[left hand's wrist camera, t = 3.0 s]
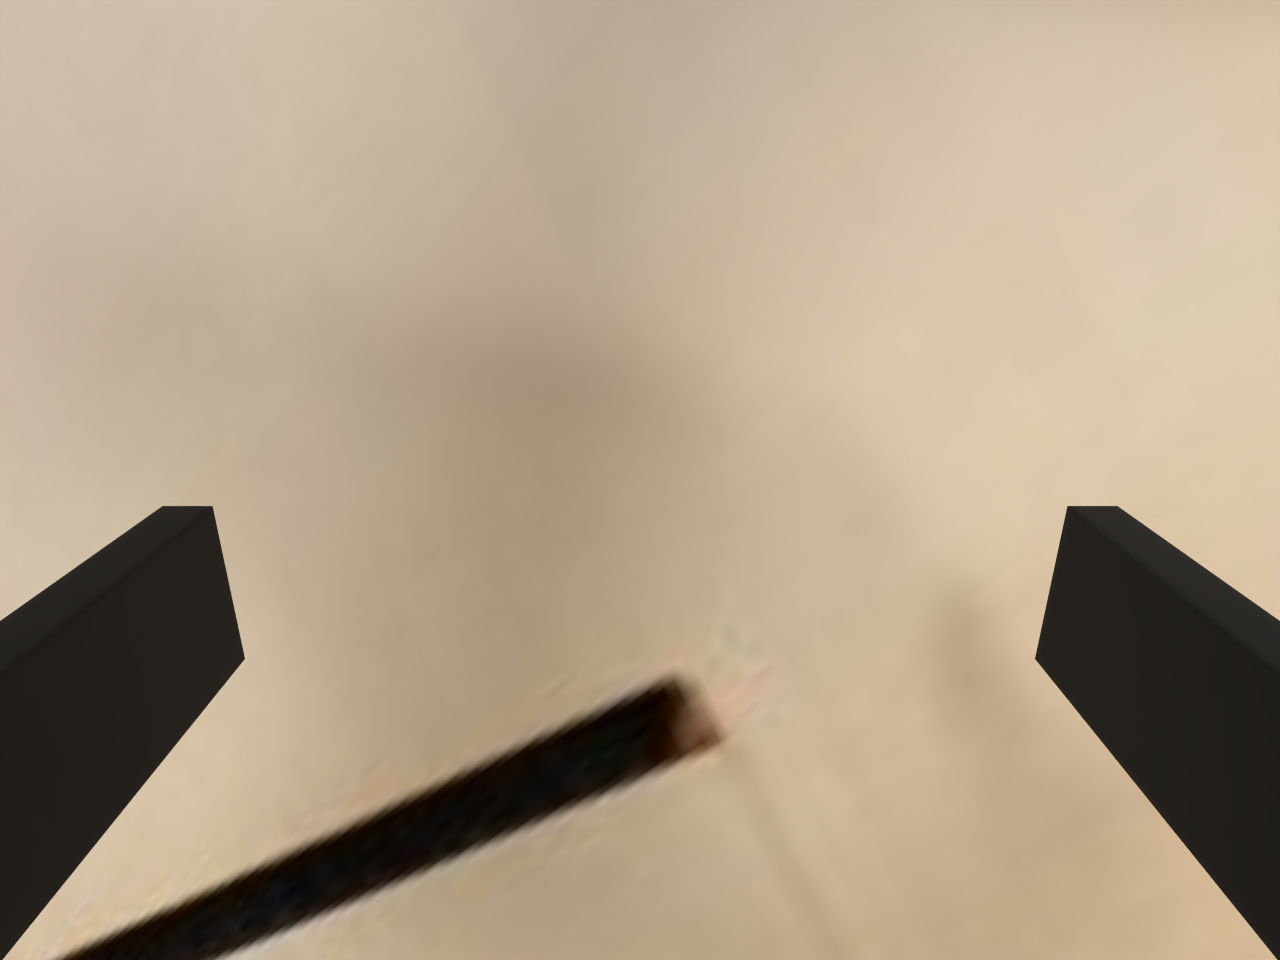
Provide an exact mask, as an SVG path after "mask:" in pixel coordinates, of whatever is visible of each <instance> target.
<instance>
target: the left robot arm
mask: <svg viewBox="0 0 1280 960" xmlns="http://www.w3.org/2000/svg"><path fill="white" fill-rule="evenodd" d="M244 659H245V657H244V652H243V648H242V643H241V638H240V633H239V629H238V624H237V619H236V615H235V610H234V605H233V601H232V596H231V591H230V586H229V582H228V577H227V572H226V568H225V563H224V558H223V553H222V549H221V544H220V539H219V535H218V530H217V525H216V521H215V516H214V511H213V506H162V507H161V508H159V509H158V510H156V511H155V512H154V513H152V514H151V515H149V516H148V517H147V518H145V519H144V520H142V521H141V522H140V523H138V524H137V525H135V526H134V527H132V528H131V529H130V530H128V531H127V532H125V533H124V534H123V535H121V536H120V537H118V538H117V539H115V540H114V541H113V542H111V543H110V544H108V545H107V546H106V547H104V548H103V549H101V550H100V551H99V552H97V553H96V554H94V555H93V556H91V557H90V558H89V559H87V560H86V561H84V562H83V563H82V564H80V565H79V566H77V567H76V568H75V569H73V570H72V571H70V572H69V573H67V574H66V575H65V576H63V577H62V578H60V579H59V580H58V581H56V582H55V583H53V584H52V585H50V586H49V587H48V588H46V589H45V590H43V591H42V592H41V593H39V594H38V595H36V596H35V597H34V598H32V599H31V600H29V601H28V602H26V603H25V604H24V605H22V606H21V607H19V608H18V609H17V610H15V611H14V612H12V613H11V614H10V615H8V616H7V617H5V618H4V619H2V620H1V621H0V960H3V958H4V957H5V956H6V955H7V953H8V952H9V951H10V950H11V949H12V947H13V946H14V945H15V944H16V942H17V941H18V940H19V939H20V937H21V936H22V935H23V934H24V932H25V931H26V930H27V929H28V927H29V926H30V925H31V924H32V922H33V921H34V920H35V919H36V917H37V916H38V915H39V914H40V913H41V911H42V910H43V909H44V908H45V906H46V905H47V904H48V903H49V901H50V900H51V899H52V898H53V896H54V895H55V894H56V893H57V891H58V890H59V889H60V888H61V886H62V885H63V884H64V883H65V881H66V880H67V879H68V878H69V877H70V875H71V874H72V873H73V872H74V870H75V869H76V868H77V867H78V865H79V864H80V863H81V862H82V860H83V859H84V858H85V857H86V855H87V854H88V853H89V852H90V850H91V849H92V848H93V847H94V845H95V844H96V843H97V842H98V841H99V839H100V838H101V837H102V836H103V834H104V833H105V832H106V831H107V829H108V828H109V827H110V826H111V824H112V823H113V822H114V821H115V819H116V818H117V817H118V816H119V814H120V813H121V812H122V811H123V809H124V808H125V807H126V806H127V805H128V803H129V802H130V801H131V800H132V798H133V797H134V796H135V795H136V793H137V792H138V791H139V790H140V788H141V787H142V786H143V785H144V783H145V782H146V781H147V780H148V778H149V777H150V776H151V775H152V773H153V772H154V771H155V770H156V769H157V767H158V766H159V765H160V764H161V762H162V761H163V760H164V759H165V757H166V756H167V755H168V754H169V752H170V751H171V750H172V749H173V747H174V746H175V745H176V744H177V742H178V741H179V740H180V739H181V737H182V736H183V735H184V734H185V733H186V731H187V730H188V729H189V728H190V726H191V725H192V724H193V723H194V721H195V720H196V719H197V718H198V716H199V715H200V714H201V713H202V711H203V710H204V709H205V708H206V706H207V705H208V704H209V703H210V701H211V700H212V699H213V698H214V697H215V695H216V694H217V693H218V692H219V690H220V689H221V688H222V687H223V685H224V684H225V683H226V682H227V680H228V679H229V678H230V677H231V675H232V674H233V673H234V672H235V670H236V669H237V668H238V667H239V665H240V664H241V663H242V662H243V661H244ZM1035 659H1036V661H1037V662H1038V663H1039V664H1040V665H1041V667H1042V668H1043V669H1044V670H1045V672H1046V673H1047V674H1048V675H1049V677H1050V678H1051V679H1052V680H1053V682H1054V683H1055V684H1056V685H1057V687H1058V688H1059V689H1060V690H1061V692H1062V693H1063V694H1064V695H1065V697H1066V698H1067V699H1068V700H1069V701H1070V703H1071V704H1072V705H1073V706H1074V708H1075V709H1076V710H1077V711H1078V713H1079V714H1080V715H1081V716H1082V718H1083V719H1084V720H1085V721H1086V723H1087V724H1088V725H1089V726H1090V728H1091V729H1092V730H1093V731H1094V733H1095V734H1096V735H1097V736H1098V737H1099V739H1100V740H1101V741H1102V742H1103V744H1104V745H1105V746H1106V747H1107V749H1108V750H1109V751H1110V752H1111V754H1112V755H1113V756H1114V757H1115V759H1116V760H1117V761H1118V762H1119V764H1120V765H1121V766H1122V767H1123V769H1124V770H1125V771H1126V772H1127V773H1128V775H1129V776H1130V777H1131V778H1132V780H1133V781H1134V782H1135V783H1136V785H1137V786H1138V787H1139V788H1140V790H1141V791H1142V792H1143V793H1144V795H1145V796H1146V797H1147V798H1148V800H1149V801H1150V802H1151V803H1152V805H1153V806H1154V807H1155V808H1156V809H1157V811H1158V812H1159V813H1160V814H1161V816H1162V817H1163V818H1164V819H1165V821H1166V822H1167V823H1168V824H1169V826H1170V827H1171V828H1172V829H1173V831H1174V832H1175V833H1176V834H1177V836H1178V837H1179V838H1180V839H1181V841H1182V842H1183V843H1184V844H1185V845H1186V847H1187V848H1188V849H1189V850H1190V852H1191V853H1192V854H1193V855H1194V857H1195V858H1196V859H1197V860H1198V862H1199V863H1200V864H1201V865H1202V867H1203V868H1204V869H1205V870H1206V872H1207V873H1208V874H1209V875H1210V877H1211V878H1212V879H1213V880H1214V881H1215V883H1216V884H1217V885H1218V886H1219V888H1220V889H1221V890H1222V891H1223V893H1224V894H1225V895H1226V896H1227V898H1228V899H1229V900H1230V901H1231V903H1232V904H1233V905H1234V906H1235V908H1236V909H1237V910H1238V911H1239V913H1240V914H1241V915H1242V916H1243V917H1244V919H1245V920H1246V921H1247V922H1248V924H1249V925H1250V926H1251V927H1252V929H1253V930H1254V931H1255V932H1256V934H1257V935H1258V936H1259V937H1260V939H1261V940H1262V941H1263V942H1264V944H1265V945H1266V946H1267V947H1268V949H1269V950H1270V951H1271V952H1272V953H1273V955H1274V956H1275V957H1276V958H1277V960H1280V621H1279V620H1278V619H1276V618H1275V617H1273V616H1272V615H1270V614H1269V613H1268V612H1266V611H1265V610H1263V609H1262V608H1261V607H1259V606H1258V605H1256V604H1255V603H1254V602H1252V601H1251V600H1249V599H1248V598H1246V597H1245V596H1244V595H1242V594H1241V593H1239V592H1238V591H1237V590H1235V589H1234V588H1232V587H1231V586H1230V585H1228V584H1227V583H1225V582H1224V581H1222V580H1221V579H1220V578H1218V577H1217V576H1215V575H1214V574H1213V573H1211V572H1210V571H1208V570H1207V569H1205V568H1204V567H1203V566H1201V565H1200V564H1198V563H1197V562H1196V561H1194V560H1193V559H1191V558H1190V557H1189V556H1187V555H1186V554H1184V553H1183V552H1181V551H1180V550H1179V549H1177V548H1176V547H1174V546H1173V545H1172V544H1170V543H1169V542H1167V541H1166V540H1165V539H1163V538H1162V537H1160V536H1159V535H1157V534H1156V533H1155V532H1153V531H1152V530H1150V529H1149V528H1148V527H1146V526H1145V525H1143V524H1142V523H1140V522H1139V521H1138V520H1136V519H1135V518H1133V517H1132V516H1131V515H1129V514H1128V513H1126V512H1125V511H1124V510H1122V509H1121V508H1119V507H1118V506H1067V511H1066V516H1065V520H1064V525H1063V530H1062V535H1061V539H1060V544H1059V549H1058V553H1057V558H1056V563H1055V568H1054V572H1053V577H1052V582H1051V586H1050V591H1049V596H1048V601H1047V605H1046V610H1045V615H1044V619H1043V624H1042V629H1041V633H1040V638H1039V643H1038V648H1037V652H1036V657H1035Z"/></svg>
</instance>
